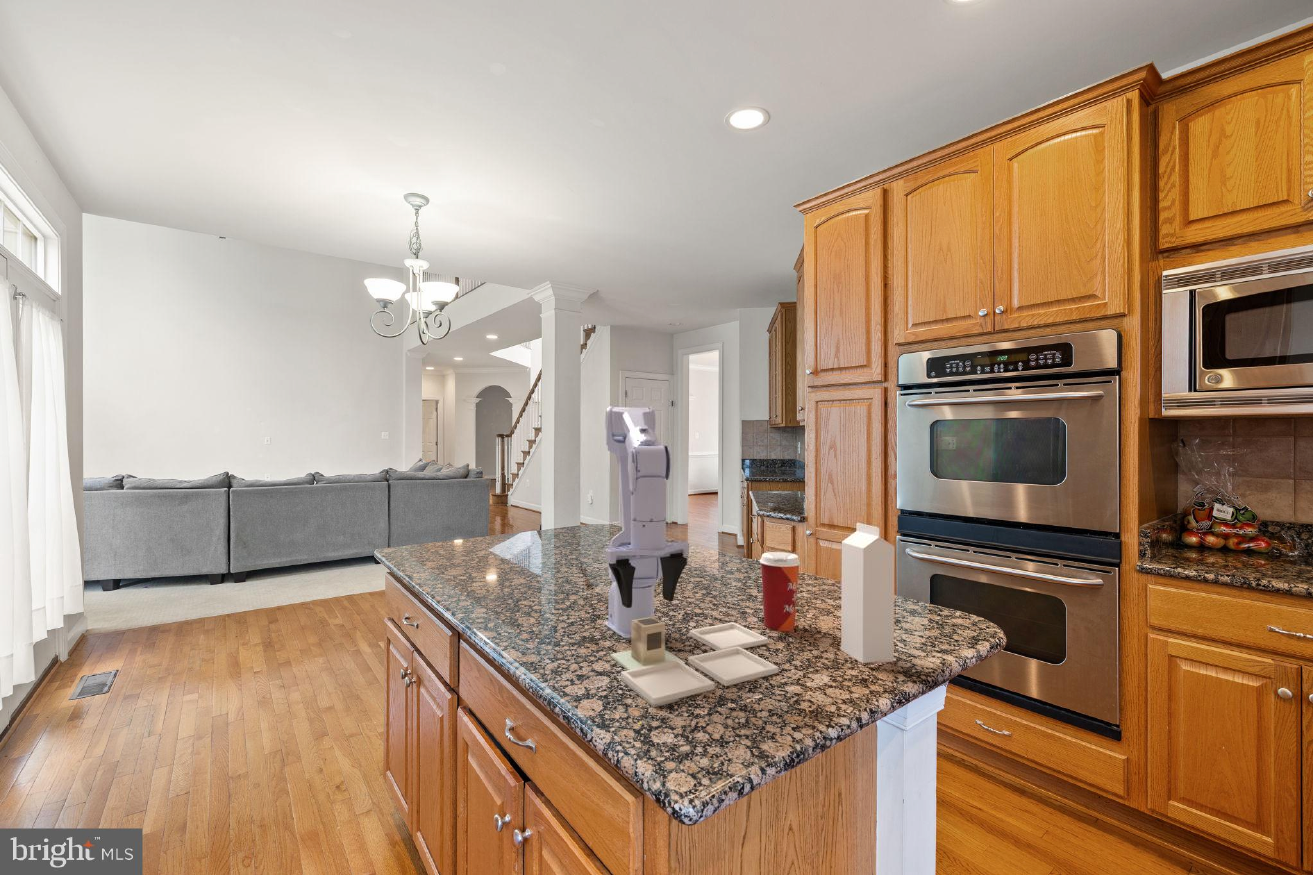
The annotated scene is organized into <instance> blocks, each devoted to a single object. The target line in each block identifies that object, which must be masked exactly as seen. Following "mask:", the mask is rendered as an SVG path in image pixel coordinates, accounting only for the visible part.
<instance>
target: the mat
mask: <svg viewBox="0 0 1313 875" xmlns="http://www.w3.org/2000/svg"><path fill="white" fill-rule="evenodd" d="M609 655H610V656H609V657H610V658H612V659H613V660H614V661H615V662H617V663H618V664H619V665H620V666H622V667H623V668H624V669H625V670H626V671H627V670H631V669H636V668H641V667H645V666H650V665H654V664H659V663H664V662H668V661H673V660H677V659H678V660H679V661H681V662H683V663H684V664H686V662H685V661H684V660H682V659H680V658H679V657H678V656H676V655H675V654H673V653H671V652H670V651H668V650H666V649H665V661H661V662H657V663H652V664H648V665H642V664H640V663H639V662H637V661H636V660H635V659H633V658H632V657H631V649H630V650H629V649H628V650H624V651H620V652H619V651H618V652H615V653H611V654H609Z"/></svg>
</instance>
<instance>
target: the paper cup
mask: <svg viewBox="0 0 1313 875" xmlns="http://www.w3.org/2000/svg"><path fill="white" fill-rule="evenodd" d="M759 563H760V564H761V565H760V566H761V583H762V588H761V589H762V606H763V622H764V628H766V629H768V630H771V631H775V632H790V631H793V630H794V629H795V625H796V612H797V611H796V610H797V600H798V598H797V597H798V584H799V567H800V565H801V564H802V563H801V561H800V560H799V556H798V555H797V554H796V553H795V554H794V553H791V552H785V551H783V552H782V551H769V552H764V553H762V555H761V558H760V559H759Z"/></svg>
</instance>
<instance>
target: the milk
mask: <svg viewBox="0 0 1313 875" xmlns="http://www.w3.org/2000/svg"><path fill="white" fill-rule="evenodd" d="M855 527H856V531H855V532H853V533H852V534H850V535H849V536H848V537H846V538H845V539H843V540H842V541H841V608H840V612H841V613H840V614H841V616H840V617H841V618H840V619H841V621H840V622H841V624H840V625H841V628H840V630H841V634H840V635H841V636H840V640H841V642H840V651H842V652H844V653H845V654H847V655H849V656H850V657H852V658H853V659H855V660H857V661H858V662H860V663H861V664H867V663H870V664H871V665H877V664H885V663H893V662H894V658H895V655H894V652H895V651H894V650H895V646H894V645H895V638H894V637H895V546H894V545H893V544H891V543H889V542H888V541H886V539H883V538H882V537H881V536H880V533H881V532H880V531H881V530H880V527H878V526H875V525H868V524H865V523H861V522H856V526H855Z"/></svg>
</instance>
